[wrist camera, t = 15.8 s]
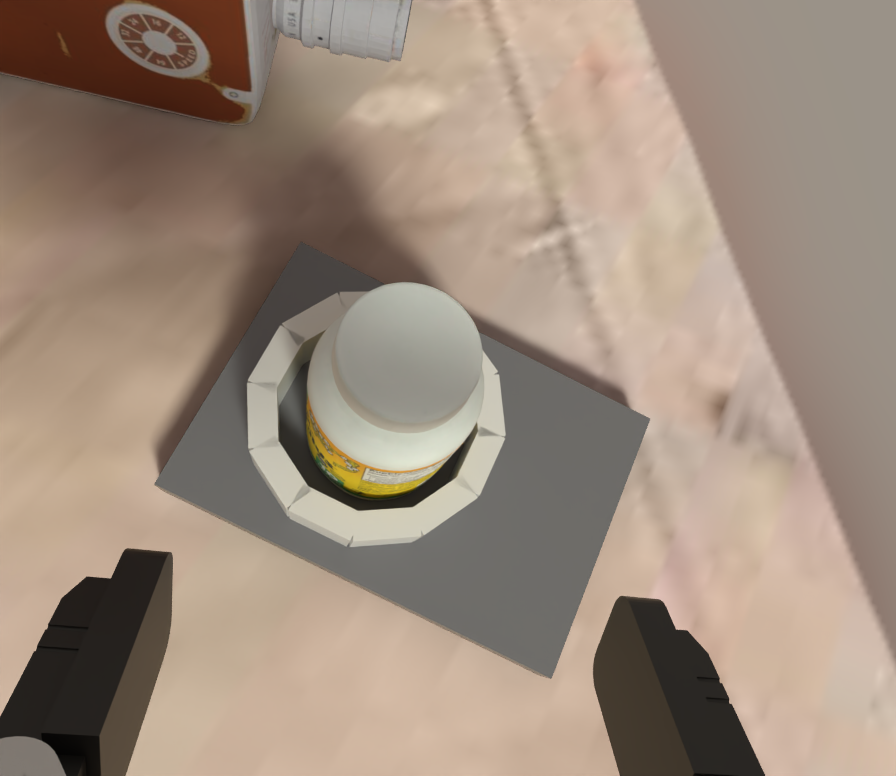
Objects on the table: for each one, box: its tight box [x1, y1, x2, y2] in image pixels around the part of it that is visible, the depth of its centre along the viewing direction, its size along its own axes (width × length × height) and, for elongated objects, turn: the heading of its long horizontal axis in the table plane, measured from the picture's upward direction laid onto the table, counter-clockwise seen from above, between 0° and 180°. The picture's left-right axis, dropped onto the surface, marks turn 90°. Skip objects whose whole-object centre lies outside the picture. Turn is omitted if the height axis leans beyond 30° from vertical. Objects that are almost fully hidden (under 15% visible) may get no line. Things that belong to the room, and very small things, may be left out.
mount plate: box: [155, 242, 650, 679], centre depth 29 cm, size 16×11×4 cm
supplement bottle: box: [306, 282, 484, 500], centre depth 25 cm, size 5×5×10 cm
